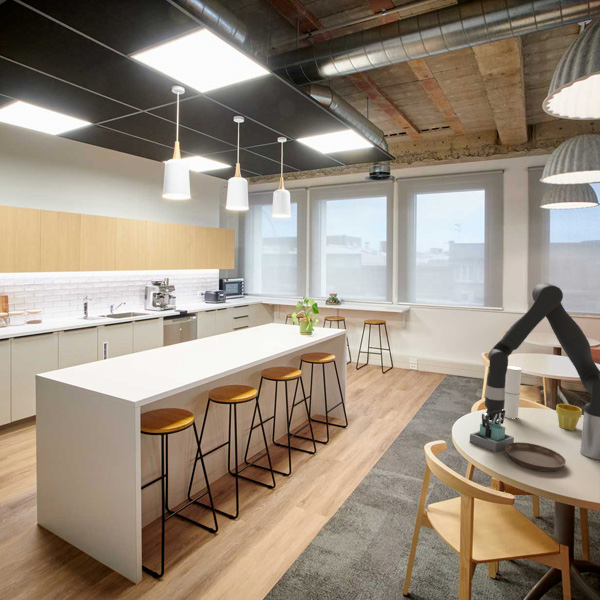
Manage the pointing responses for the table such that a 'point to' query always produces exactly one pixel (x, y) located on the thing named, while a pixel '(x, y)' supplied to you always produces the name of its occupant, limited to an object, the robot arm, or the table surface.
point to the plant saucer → (535, 456)
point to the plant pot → (568, 416)
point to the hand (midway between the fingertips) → (492, 435)
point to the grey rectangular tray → (490, 442)
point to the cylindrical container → (512, 391)
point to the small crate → (494, 432)
